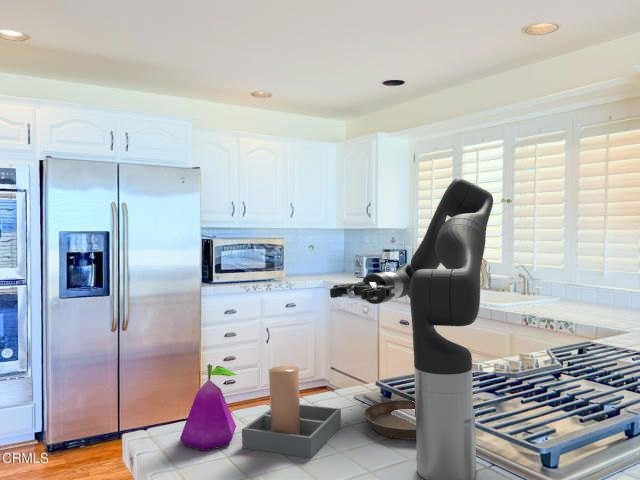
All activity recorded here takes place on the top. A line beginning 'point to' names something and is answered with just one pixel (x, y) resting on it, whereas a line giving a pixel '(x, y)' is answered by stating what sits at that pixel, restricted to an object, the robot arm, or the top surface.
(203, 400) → the pear
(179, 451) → the top surface
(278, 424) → the peach pillar candle
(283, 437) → the divided storage tray
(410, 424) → the object
